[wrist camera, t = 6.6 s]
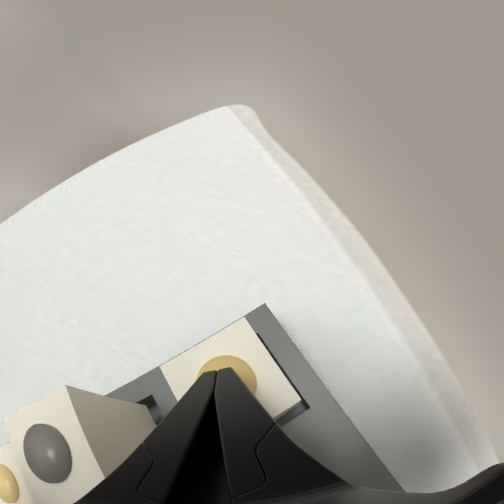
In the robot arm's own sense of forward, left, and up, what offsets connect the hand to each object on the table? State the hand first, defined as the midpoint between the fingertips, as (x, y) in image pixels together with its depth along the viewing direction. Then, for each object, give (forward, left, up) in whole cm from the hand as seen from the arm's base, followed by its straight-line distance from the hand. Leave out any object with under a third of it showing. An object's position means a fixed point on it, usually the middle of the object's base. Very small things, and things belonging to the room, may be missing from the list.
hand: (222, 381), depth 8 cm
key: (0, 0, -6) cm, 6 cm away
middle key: (0, +5, -4) cm, 7 cm away
